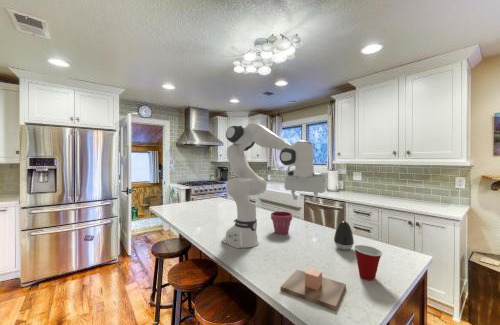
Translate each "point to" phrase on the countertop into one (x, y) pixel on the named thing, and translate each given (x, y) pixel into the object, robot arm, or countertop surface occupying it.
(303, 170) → the robot arm
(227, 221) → the countertop surface
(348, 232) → the black glossy tall piece
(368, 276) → the plastic cup
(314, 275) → the cube
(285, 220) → the plant pot
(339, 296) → the walnut board
